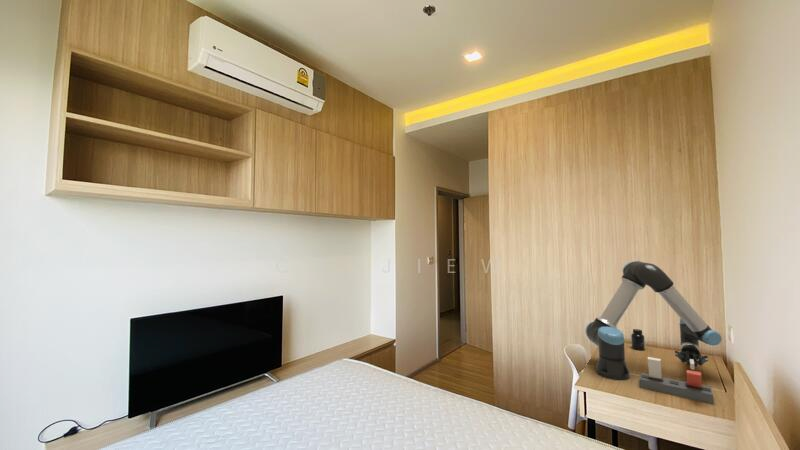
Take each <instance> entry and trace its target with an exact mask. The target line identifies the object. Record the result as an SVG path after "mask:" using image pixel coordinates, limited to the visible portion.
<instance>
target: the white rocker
mask: <svg viewBox="0 0 800 450" xmlns="http://www.w3.org/2000/svg"><path fill="white" fill-rule="evenodd" d="M661 360H662V359H661V358H656V357H652V356H647V364H648V365H647V366H648V374H649V376H650V377H655V378H659V379H662V377H663V375H662V362H661Z"/></svg>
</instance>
